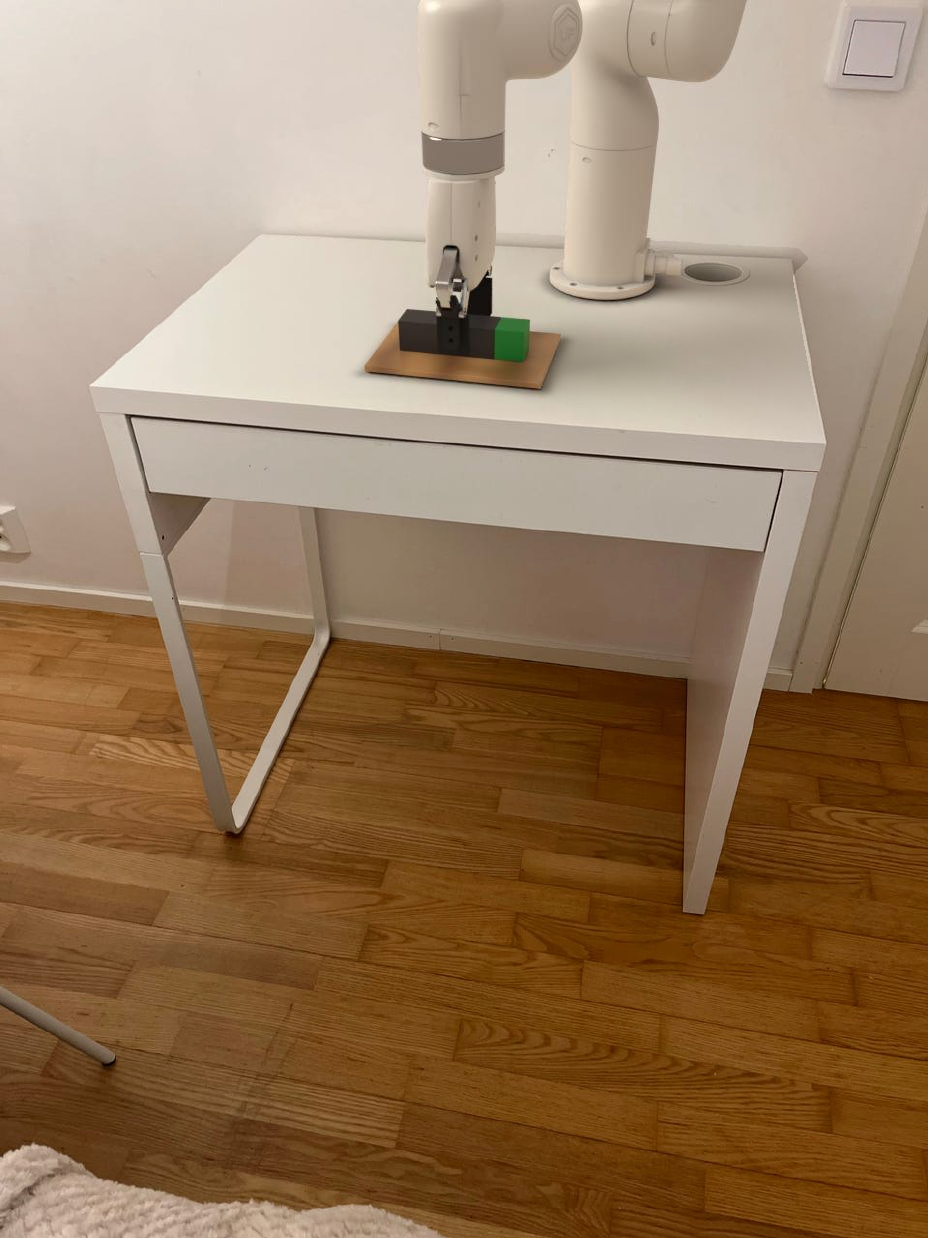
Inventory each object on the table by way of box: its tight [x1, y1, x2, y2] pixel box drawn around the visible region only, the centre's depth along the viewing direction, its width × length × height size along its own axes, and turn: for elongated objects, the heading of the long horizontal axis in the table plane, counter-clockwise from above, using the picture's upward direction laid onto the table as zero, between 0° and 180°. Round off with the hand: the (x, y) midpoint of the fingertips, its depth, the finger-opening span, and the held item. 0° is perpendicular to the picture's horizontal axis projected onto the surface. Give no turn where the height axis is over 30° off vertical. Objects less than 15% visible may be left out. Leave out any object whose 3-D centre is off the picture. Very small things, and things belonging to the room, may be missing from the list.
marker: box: [397, 308, 531, 362], centre depth 96 cm, size 13×3×3 cm, turn 76°
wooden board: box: [364, 321, 562, 390], centre depth 97 cm, size 18×12×1 cm, turn 76°
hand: (465, 333), depth 96 cm, fingers open, 9 cm apart
